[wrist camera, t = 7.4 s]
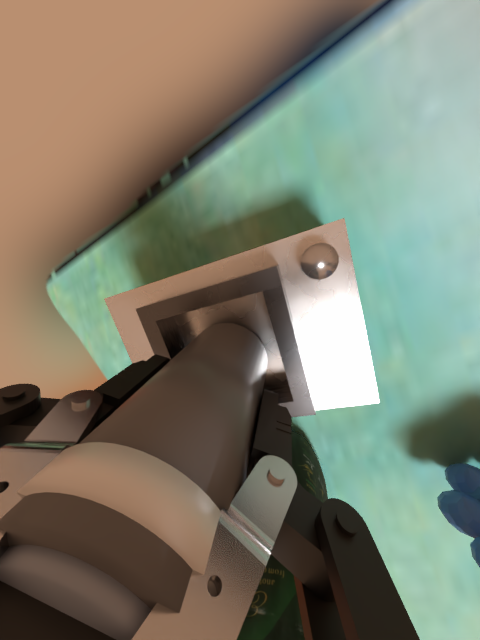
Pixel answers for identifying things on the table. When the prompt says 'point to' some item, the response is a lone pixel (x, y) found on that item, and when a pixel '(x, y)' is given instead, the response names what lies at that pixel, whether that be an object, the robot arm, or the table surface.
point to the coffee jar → (277, 581)
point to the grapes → (463, 502)
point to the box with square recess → (268, 316)
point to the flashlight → (141, 490)
